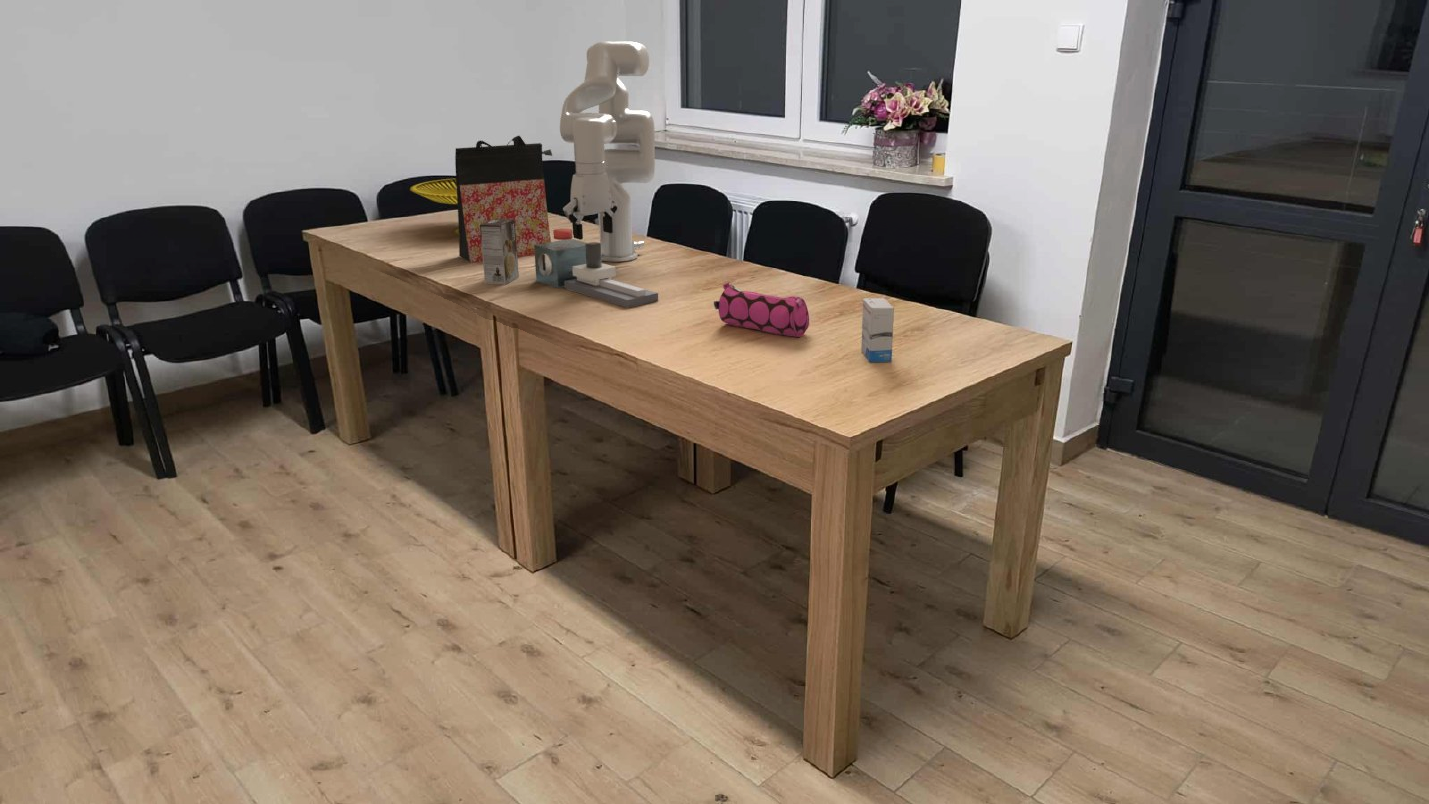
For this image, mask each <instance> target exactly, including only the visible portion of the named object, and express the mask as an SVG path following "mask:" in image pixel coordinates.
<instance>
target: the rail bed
mask: <svg viewBox="0 0 1429 804" xmlns="http://www.w3.org/2000/svg"><path fill="white" fill-rule="evenodd" d="M599 282H600V285H597V286H595V285H591V284H588V283H585V282H581V281H578V280H577V279H572V280H567V281H564V285H565V287H564V289H565V290H568V291H571V292H575V293H578V294H581V295H585V296H588V297H591V298H594V299H597V300H600V301H603V302H607V303H609V304H610V303H611V304H613V305H616V306H619V307H620V306H621V307H623V308H627V309H629V308H630V309H631V308H633V307H637V306H642V305H646V304H650V303H654V301H655V302H658V301H659V292H656V291H653V290H649V289H645V288H642V287H639V286H635V285H632V284H628V283H625V282H621V281H617V280H614V279H612V280H610V279H607V278H604V279H599Z"/></svg>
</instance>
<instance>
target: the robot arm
mask: <svg viewBox="0 0 1429 804" xmlns="http://www.w3.org/2000/svg"><path fill="white" fill-rule="evenodd" d="M586 62H587V64H586V69H585V75H584V82H582V83H581V84H579V85H578V86H577V87H576V88H574V89H573V90H572V91H571V92H570V93H569V94H568V95H567V97H566V98H565V100H564V101H563V104H562V108H561V113H560V119H559V120H560V121H559V132H560V136H561V138H562V140H563V141H564V142H566V143H568V144H573V149H574V150H573V153H574V171H575V173H574V174H572V177H571V185H570V202H568V203H567V204H566V205H565V206H563V208H562V211H563V212H564V215H565V217H566V219H568V221H569V222H570V223H571V224H572V237H573V238H574V239H575V240H578V241H582V240H583V238H584V234H583V223H581V222H582V221H583V219H584V217H585V216H586V217H587V216H590V215H597V214H598V225H599V226H598V228H599V243H601V259H602V262H612V263H613V262H615V263H617V262H627V261H632V260H633V261H634V260H636V259H637V258H638V252H636V250H637V249H640V248H644V247H645V242H644V241H642V240H640V241H635V240H633V238H632V237H633V236H632V235H633V234H632V233H633V231H632V230H633V229H632V200H631V196H630V194H629V192H628V190H627V189H626V188H625V187H624V186H623V184H647V183H651V182H652V181H653V180H654V176H655V165H656V164H655V162H656V161H655V158H656V157H655V155H656V154H655V153H656V151H655V143H656V142H655V141H656V140H655V138H656V137H655V134H656V133H655V132H656V131H655V121H654V118H653V115H652V114H651V113H650V112H649V111H648V110H642V109H641V110H640V109H639V110H638V109H637V110H635V109H634V110H633V109H632V110H631V109H630V108H629V91H628V89H627V87H626V86H625V84H624V83H623V82H622V81H621V79H619V77H644V76H645V75H646V73H647V72H648V71H649V67H650V57H649V51H648V48H647V47H646V46H645V45H644V44H642V43H639V42H635V41H616V40H615V41H610V40H607V41H599V42H596V43H594V44H593V45H591V46H590V47H588V49H587V50H586ZM596 106H598V112H593V113H592V112H583V111H585V110H588V109H591V108H594V107H596ZM606 144H609V145H633V146H634V145H636V146H637V147H638V149H636V148H635V149H632V148H631V149H630V148H626V149H625V148H606V149H605V145H606Z"/></svg>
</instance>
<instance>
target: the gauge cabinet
mask: <svg viewBox="0 0 1429 804" xmlns="http://www.w3.org/2000/svg"><path fill="white" fill-rule="evenodd" d="M586 243H587V242H585V241H582V240H579V239H575V238H574V239H573V238H572V239H567V240H553V241H551V242H548V243H542V244H536V245H534V252H535V255H534V265H535V266H534V267H535V280H536V282H537V283H540V284H543V285H547V286H551V287H553V288H557V289H561V288H565V285H564V281H567V280H572V279H577V277H576V276H573V268H572V267H573V266H578V265H583V264H586V247H585V244H586Z"/></svg>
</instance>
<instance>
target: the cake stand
mask: <svg viewBox="0 0 1429 804" xmlns="http://www.w3.org/2000/svg"><path fill="white" fill-rule="evenodd" d="M410 192H412V193H414V194H417V195H418V196H419V195H420V196H421V197H423V198H426V199H428V200H430V201H432V202H436V203H438V204H439V203H440V204H448V205H458V203H457V185H456V178H446V179H437V180H430V181H424V182H420V183H417V184H414V185H412V186H410ZM454 232H455V233H456V234H457V235H459V228H457V229H455V231H454Z"/></svg>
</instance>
